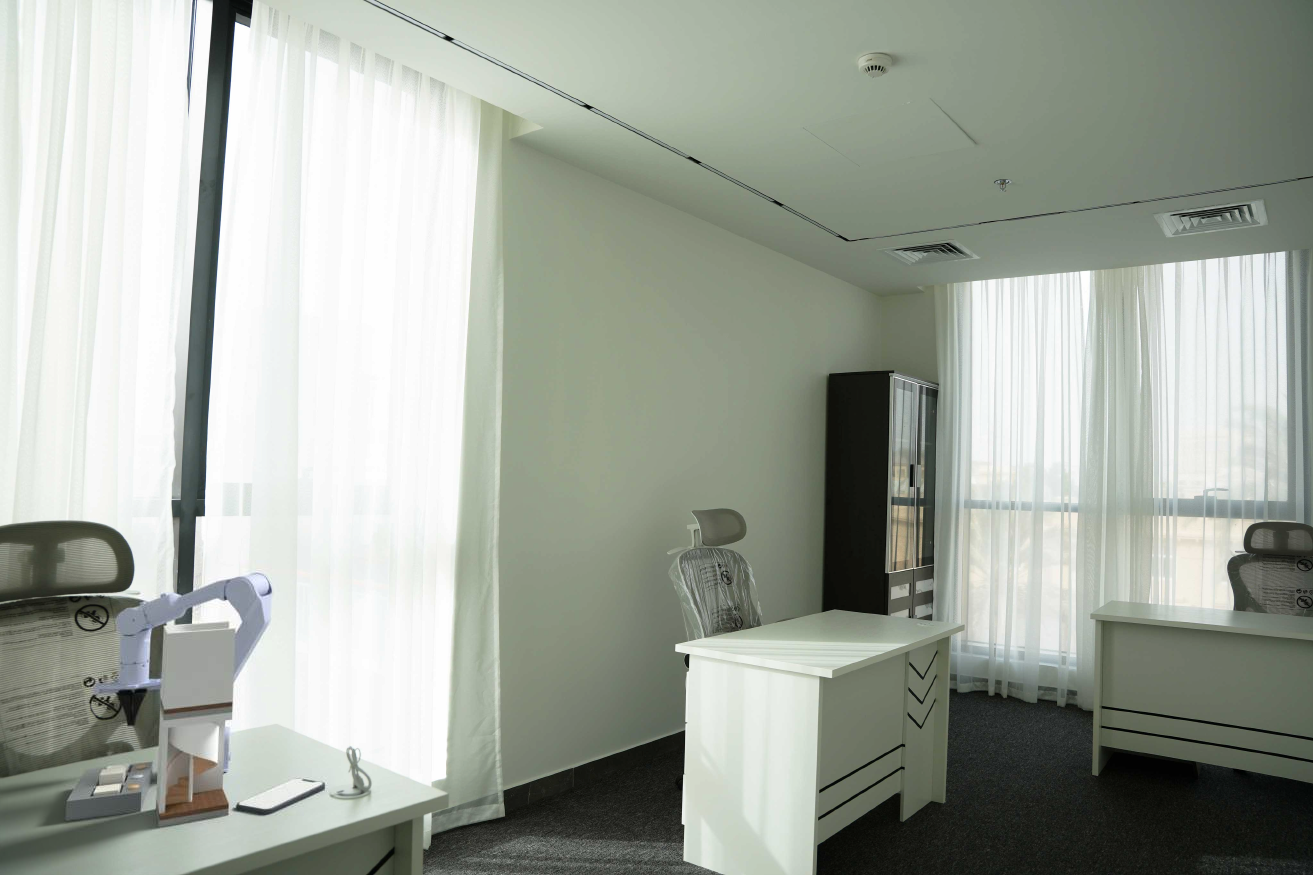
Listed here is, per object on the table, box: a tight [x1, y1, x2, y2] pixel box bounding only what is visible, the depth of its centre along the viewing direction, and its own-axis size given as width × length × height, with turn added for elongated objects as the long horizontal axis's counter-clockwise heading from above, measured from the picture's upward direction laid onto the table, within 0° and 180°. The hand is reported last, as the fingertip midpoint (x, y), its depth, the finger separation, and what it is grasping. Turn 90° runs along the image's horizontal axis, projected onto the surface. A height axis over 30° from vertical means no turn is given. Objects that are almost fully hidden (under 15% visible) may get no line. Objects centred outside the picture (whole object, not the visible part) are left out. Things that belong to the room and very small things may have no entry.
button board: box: [65, 761, 153, 822], centre depth 170 cm, size 12×20×4 cm, turn 25°
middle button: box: [99, 767, 126, 785], centre depth 170 cm, size 4×4×3 cm
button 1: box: [93, 784, 121, 796], centre depth 164 cm, size 4×4×3 cm
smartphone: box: [235, 778, 326, 816], centre depth 171 cm, size 9×2×16 cm
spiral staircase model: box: [155, 620, 237, 828], centre depth 164 cm, size 11×11×35 cm
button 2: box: [106, 763, 131, 773], centre depth 176 cm, size 4×4×3 cm
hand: (131, 724), depth 187 cm, fingers closed
